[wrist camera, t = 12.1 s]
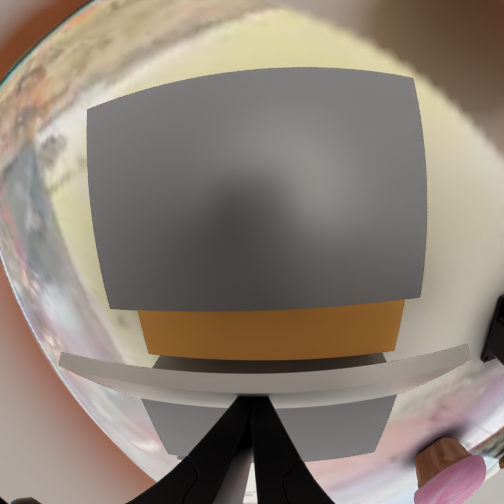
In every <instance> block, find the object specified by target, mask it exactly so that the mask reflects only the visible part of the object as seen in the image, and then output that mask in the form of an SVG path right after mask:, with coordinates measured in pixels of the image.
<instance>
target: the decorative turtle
mask: <svg viewBox="0 0 504 504" xmlns="http://www.w3.org/2000/svg"><path fill="white" fill-rule="evenodd" d="M499 465H500V468H501V469H502V468H504V456H503V457H502V458H501V459H500V460H499Z"/></svg>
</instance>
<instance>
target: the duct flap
mask: <svg viewBox="0 0 504 504" xmlns="http://www.w3.org/2000/svg"><path fill="white" fill-rule="evenodd" d="M470 359H471V357H470V352H469V348H468V344H464V345H461V346H457V347H454V348H450V349H446V350H443V351H439V352H435V353H430V354H426V355H422V356H417V357H412V358H408V359H402V360H397V361H392V362H386V363H380V364H374V365H367V366H360V367H352V368H344V369H335V370H324V371H312V372H297V373H274V374H224V373H201V372H186V371H174V370H164V369H155V368H146V367H139V366H132V365H125V364H119V363H113V362H107V361H102V360H96V359H91V358H86V357H82V356H77V355H73V354H69V353H64V352H61V356H60V361H59V366H61V367H63V368H65V369H67V370H69V371H71V372H73V373H75V374H77V375H79V376H82V377H84V378H86V379H88V380H91V381H93V382H96V383H98V384H100V385H103V386H105V387H108V388H111V389H113V390H116V391H119V392H121V393H124V394H127V395H130V396H133V397H137V398H142V399H148V400H154V401H161V402H167V403H175V404H183V405H193V406H204V407H217V408H229V407H230V405H231V404H232V403H233V402H234V401H235V399H236V398H237V397H238V396H243V397H269V398H270V400H271V402H272V404H273V406H274V408H275V409H279V408H301V407H314V406H325V405H334V404H343V403H350V402H357V401H363V400H369V399H375V398H380V397H386V396H391V395H395V394H400V393H404V392H406V391H408V390H411V389H413V388H415V387H418V386H420V385H422V384H424V383H426V382H429V381H431V380H433V379H435V378H437V377H439V376H441V375H443V374H445V373H447V372H449V371H451V370H452V369H454V368H456V367H458V366H460V365H462V364H463V363H465V362H467V361H469V360H470Z"/></svg>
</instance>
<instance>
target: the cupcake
mask: <svg viewBox="0 0 504 504" xmlns="http://www.w3.org/2000/svg"><path fill="white" fill-rule="evenodd" d="M415 467H416V474H417V479H418V488H419V489H418V490H417V491H416V492H415V494H414V495H415V496H414V502H415V504H461V503H462V502H464V501H465V500H466V499H468V498H469V497H470V496H471V495H472V494H473V493H474V492H475V491H476V490H477V489H478V488H479V487H480V486H481V485H482V483H483V481H484V479H485V475H486V465H485V462H484V459H483V457H481V456H479V455H472V454H470V453H468V451H466V449H465V448H464V447H463V446H462V445H461V444H460V443H459V441H458V440H457V439H451V438H448V437H443V438H440V439H438V440H437V441H435V442H434V443H433V444H432V445H430V446H429V447H428V448H426V449H425V450H423V451H422V452H421V453H419V454H418V455H417V456H416V458H415Z"/></svg>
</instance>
